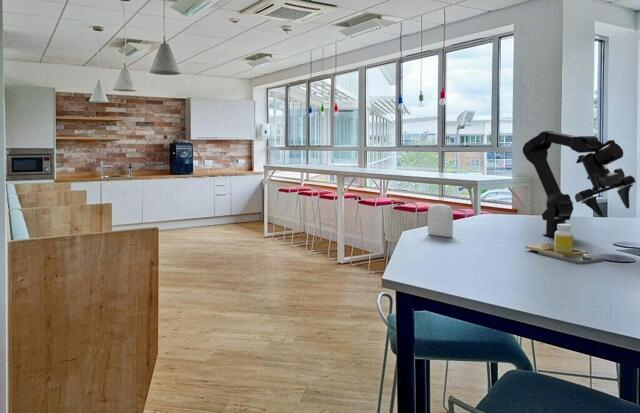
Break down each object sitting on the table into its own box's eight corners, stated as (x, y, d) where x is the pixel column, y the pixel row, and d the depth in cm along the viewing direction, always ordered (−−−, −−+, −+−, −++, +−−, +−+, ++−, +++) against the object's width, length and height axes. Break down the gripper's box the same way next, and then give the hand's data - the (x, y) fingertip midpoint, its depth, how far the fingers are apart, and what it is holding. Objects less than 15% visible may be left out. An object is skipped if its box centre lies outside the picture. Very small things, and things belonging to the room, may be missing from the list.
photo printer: (426, 234, 208) (426, 203, 207) (433, 233, 211) (433, 202, 209) (447, 238, 200) (447, 205, 199) (454, 236, 203) (454, 204, 201)
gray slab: (604, 260, 159) (604, 254, 159) (579, 264, 155) (579, 257, 155) (548, 247, 179) (548, 241, 179) (525, 250, 175) (525, 244, 175)
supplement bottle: (575, 256, 165) (576, 225, 163) (558, 257, 165) (559, 226, 163) (567, 253, 170) (568, 223, 169) (550, 253, 170) (551, 223, 169)
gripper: (579, 172, 173) (599, 216, 170) (633, 154, 173) (654, 198, 170) (566, 180, 184) (584, 222, 181) (617, 164, 184) (636, 205, 181)
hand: (615, 212), depth 178 cm, fingers open, 9 cm apart
